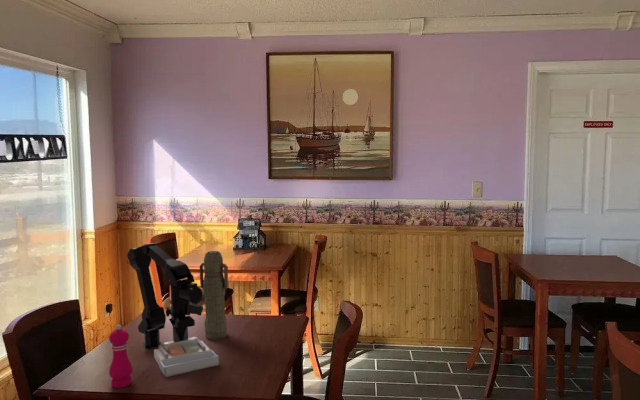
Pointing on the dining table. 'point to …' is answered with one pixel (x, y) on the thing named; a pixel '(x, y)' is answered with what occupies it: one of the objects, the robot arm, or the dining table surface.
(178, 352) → the terracotta tile
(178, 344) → the grey panel
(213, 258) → the thermos
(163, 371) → the tray
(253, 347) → the dining table surface
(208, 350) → the white shallow box
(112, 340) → the pepper mill
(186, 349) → the sage tile
